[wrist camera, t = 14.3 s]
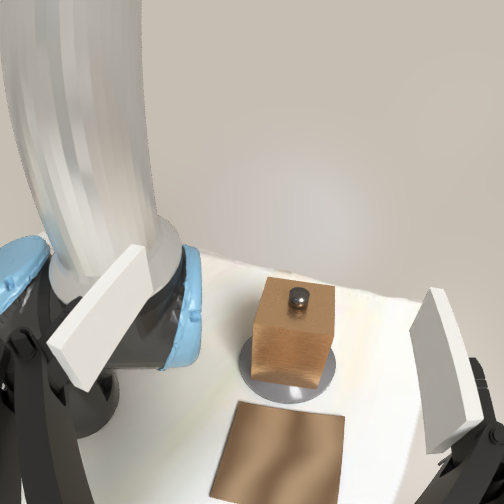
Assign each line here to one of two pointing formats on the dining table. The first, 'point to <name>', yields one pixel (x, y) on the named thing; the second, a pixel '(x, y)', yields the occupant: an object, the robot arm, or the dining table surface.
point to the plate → (283, 391)
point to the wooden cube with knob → (293, 332)
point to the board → (281, 457)
